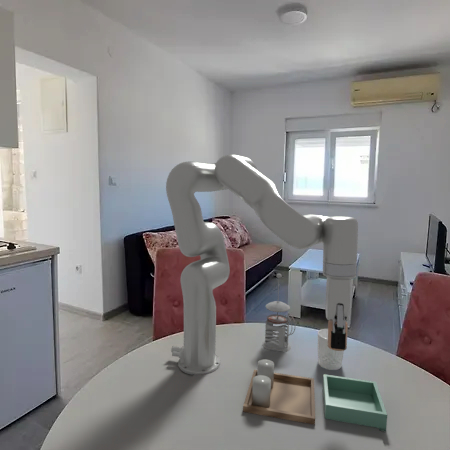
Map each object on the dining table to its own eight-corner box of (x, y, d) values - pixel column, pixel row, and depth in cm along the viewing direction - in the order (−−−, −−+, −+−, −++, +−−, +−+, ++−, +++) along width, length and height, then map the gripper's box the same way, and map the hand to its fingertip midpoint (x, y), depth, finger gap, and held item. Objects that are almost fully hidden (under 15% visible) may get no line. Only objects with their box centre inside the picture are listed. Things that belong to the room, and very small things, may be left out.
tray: (242, 413, 79) (243, 406, 79) (253, 376, 95) (254, 369, 95) (314, 427, 75) (315, 418, 75) (313, 385, 91) (314, 378, 91)
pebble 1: (255, 388, 88) (256, 366, 88) (258, 378, 92) (258, 358, 92) (272, 390, 87) (273, 369, 86) (274, 381, 91) (275, 360, 91)
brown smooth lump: (327, 349, 79) (328, 325, 78) (327, 341, 83) (327, 318, 83) (347, 351, 78) (348, 327, 77) (345, 343, 82) (346, 319, 81)
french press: (274, 336, 120) (276, 268, 117) (301, 348, 112) (304, 275, 109) (255, 344, 114) (258, 273, 111) (283, 358, 105) (286, 280, 102)
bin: (324, 420, 77) (325, 404, 77) (322, 388, 90) (323, 374, 89) (386, 431, 74) (387, 414, 74) (374, 396, 87) (375, 381, 86)
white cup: (345, 374, 97) (347, 341, 95) (316, 371, 98) (318, 338, 97) (341, 360, 104) (343, 330, 103) (315, 357, 106) (316, 327, 105)
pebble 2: (250, 407, 80) (251, 383, 80) (253, 396, 85) (254, 374, 84) (269, 410, 79) (269, 386, 79) (271, 399, 84) (271, 376, 83)
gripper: (321, 261, 88) (320, 328, 90) (323, 277, 71) (321, 358, 73) (352, 262, 86) (350, 331, 88) (361, 279, 70) (358, 363, 71)
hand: (337, 342), depth 80 cm, fingers closed on brown smooth lump, 4 cm apart
